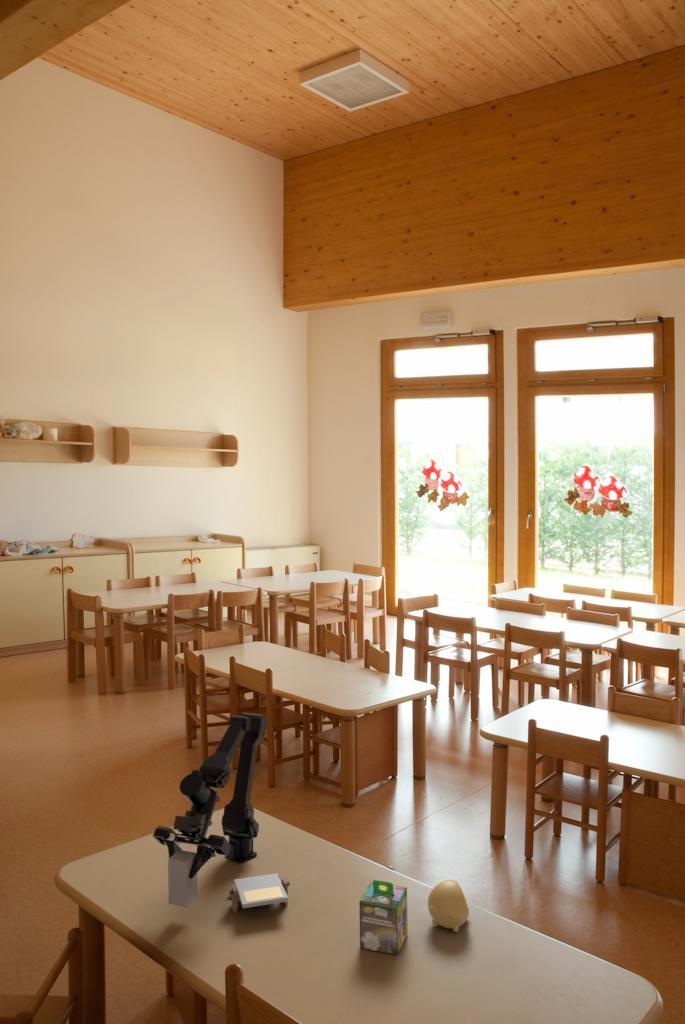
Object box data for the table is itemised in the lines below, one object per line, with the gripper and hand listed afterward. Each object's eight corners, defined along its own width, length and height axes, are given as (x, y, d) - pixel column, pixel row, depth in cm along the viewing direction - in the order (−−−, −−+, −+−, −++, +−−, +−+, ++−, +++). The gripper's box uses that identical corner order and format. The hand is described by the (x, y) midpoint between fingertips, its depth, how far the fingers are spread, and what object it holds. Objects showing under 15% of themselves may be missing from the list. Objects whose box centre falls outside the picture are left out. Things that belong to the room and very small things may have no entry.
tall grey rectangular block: (179, 893, 204) (178, 849, 203) (197, 896, 203) (196, 852, 202) (168, 903, 200) (168, 859, 199) (187, 907, 198) (186, 862, 197)
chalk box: (408, 934, 195) (408, 873, 194) (397, 956, 187) (398, 892, 186) (370, 926, 198) (370, 866, 197) (358, 948, 190) (358, 885, 189)
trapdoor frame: (225, 896, 211) (225, 875, 211) (283, 888, 216) (283, 867, 215) (230, 913, 204) (230, 891, 203) (290, 904, 208) (290, 882, 208)
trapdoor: (234, 895, 210) (234, 879, 210) (277, 888, 214) (277, 872, 213) (242, 920, 199) (242, 903, 199) (287, 913, 202) (287, 896, 202)
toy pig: (468, 943, 198) (479, 899, 205) (459, 924, 190) (471, 878, 197) (429, 931, 202) (441, 888, 209) (418, 912, 194) (431, 868, 201)
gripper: (155, 794, 206) (132, 858, 196) (224, 804, 200) (203, 871, 191) (172, 812, 214) (150, 874, 204) (239, 822, 208) (219, 887, 199)
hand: (180, 876), depth 199 cm, fingers closed on tall grey rectangular block, 5 cm apart
